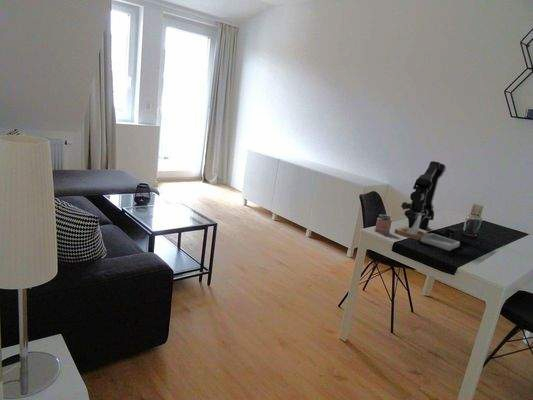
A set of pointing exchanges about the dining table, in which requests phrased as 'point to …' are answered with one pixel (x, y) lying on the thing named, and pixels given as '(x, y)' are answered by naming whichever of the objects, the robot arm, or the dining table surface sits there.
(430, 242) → the tray
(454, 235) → the digital camera
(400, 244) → the dining table surface
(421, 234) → the socket block
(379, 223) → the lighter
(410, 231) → the skincare box
